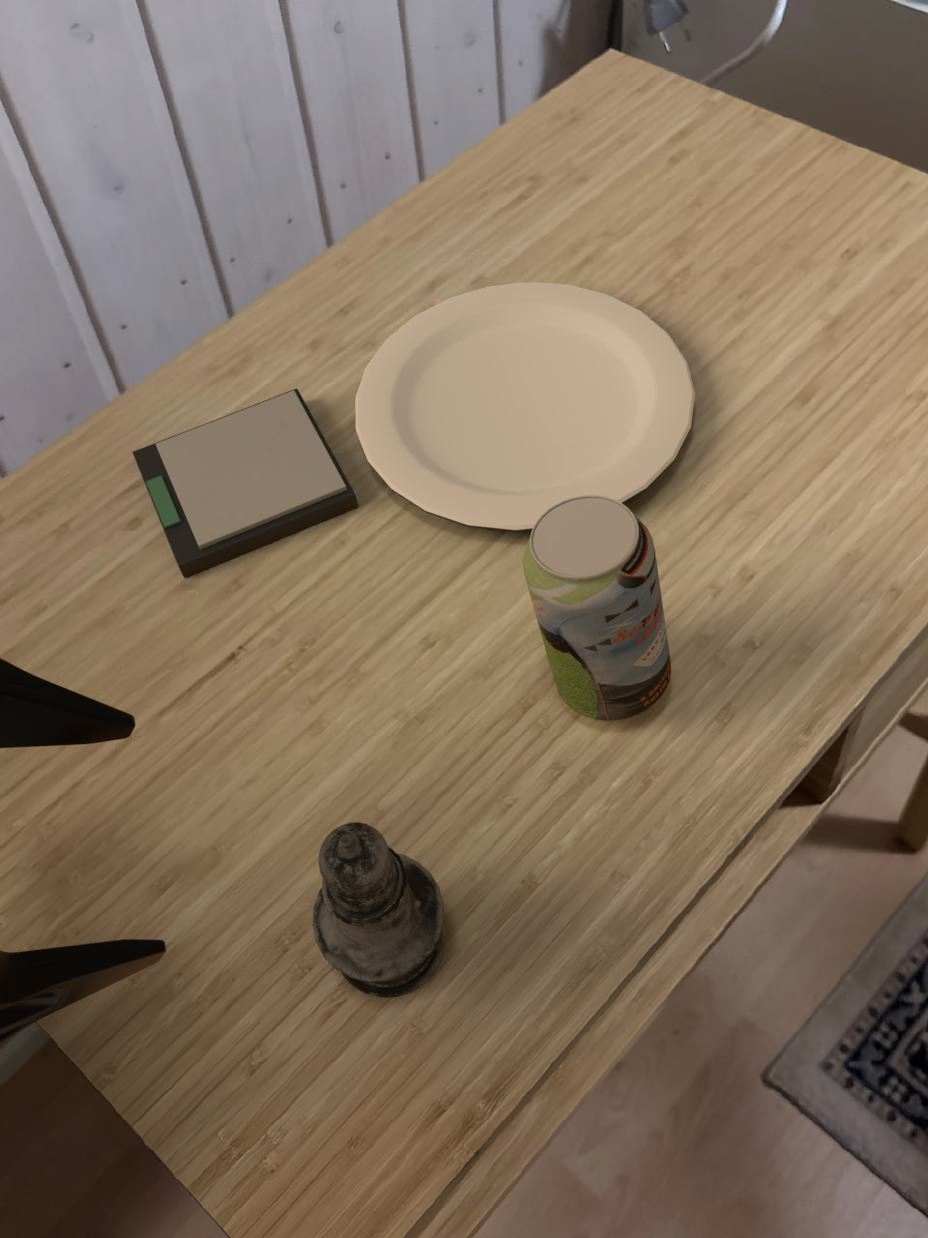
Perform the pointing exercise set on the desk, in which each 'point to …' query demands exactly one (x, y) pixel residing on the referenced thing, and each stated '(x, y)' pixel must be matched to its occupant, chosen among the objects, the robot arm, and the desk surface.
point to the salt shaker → (377, 913)
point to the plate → (523, 404)
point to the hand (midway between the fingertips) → (146, 832)
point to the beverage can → (599, 607)
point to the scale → (243, 482)
